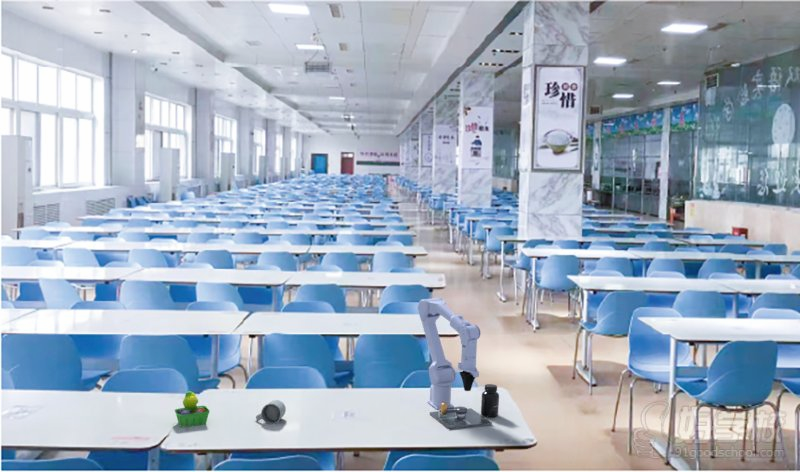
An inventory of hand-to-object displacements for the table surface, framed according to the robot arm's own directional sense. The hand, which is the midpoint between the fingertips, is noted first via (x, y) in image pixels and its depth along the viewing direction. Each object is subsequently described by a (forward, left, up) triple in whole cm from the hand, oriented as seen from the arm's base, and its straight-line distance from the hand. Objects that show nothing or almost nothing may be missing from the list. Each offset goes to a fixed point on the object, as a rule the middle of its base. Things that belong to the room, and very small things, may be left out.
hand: (467, 390), depth 303 cm
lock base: (+3, -4, -10) cm, 12 cm away
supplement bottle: (+1, +9, -11) cm, 14 cm away
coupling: (+3, -7, -7) cm, 11 cm away
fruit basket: (-20, -102, -11) cm, 105 cm away
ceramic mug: (-15, -74, -11) cm, 76 cm away
